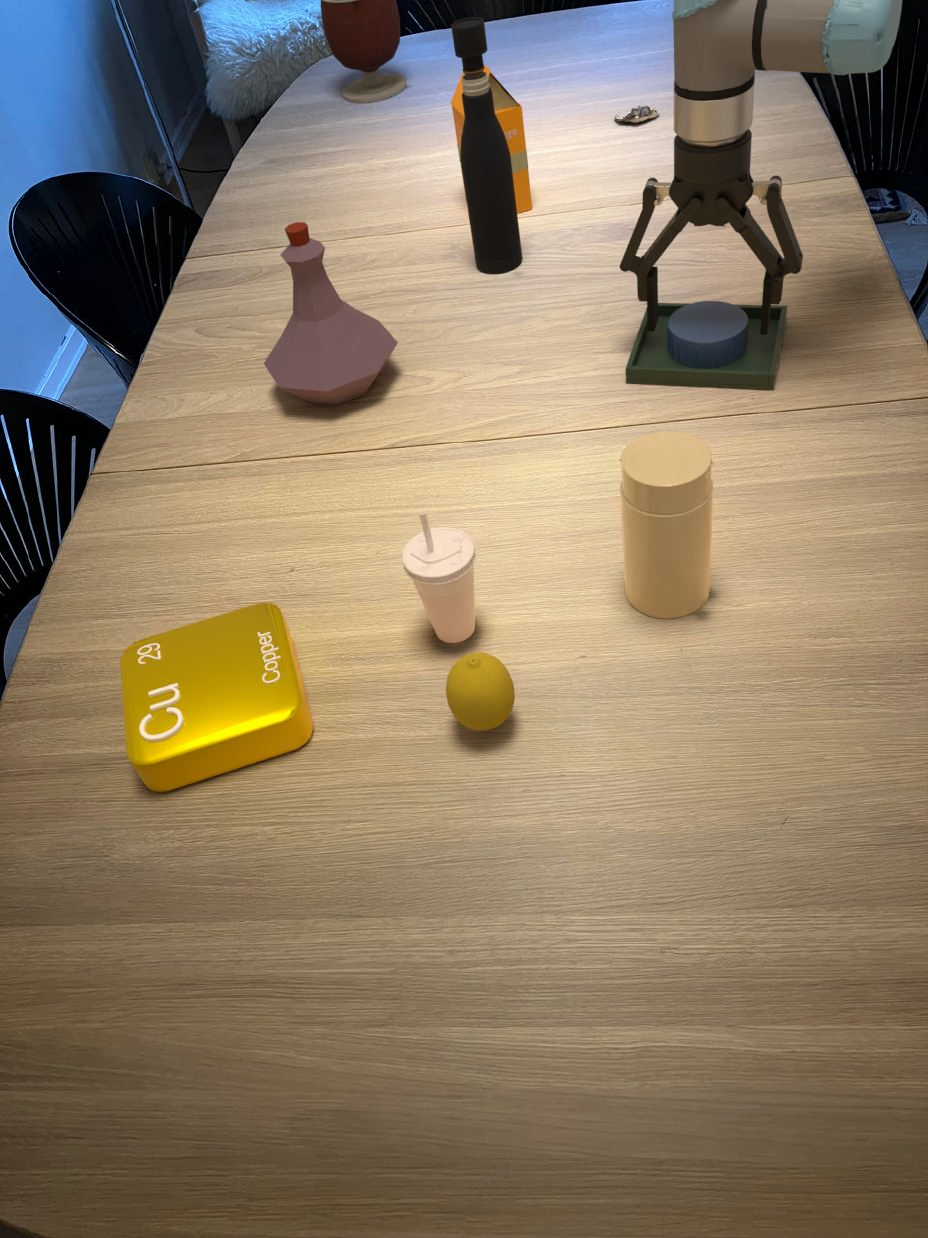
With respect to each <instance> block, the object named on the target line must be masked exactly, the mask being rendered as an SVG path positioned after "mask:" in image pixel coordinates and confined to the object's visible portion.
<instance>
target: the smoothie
mask: <svg viewBox="0 0 928 1238" xmlns="http://www.w3.org/2000/svg"><path fill="white" fill-rule="evenodd" d="M418 514H419V519H420V522H421V523H420V524H421V528H422V531H421V532H419V533H418V534H416V535H414V536H413V537H412V538H411V539H409V540H408V542H407V543H406V544H405V546H404V548H403V550H402V553H401V560H402V564H403V566H402V567H403V571H404V573H405V574H406V575H407V576H408V577H409V578H410V579H411V580H412V582H413V585H414V587H415V589H416V591H417V594H418V596H419V599H420V601H421V603H422V605H423V607H424V610H425V612H426V614H427V617H428V618H429V621H430V623H431V625H432V627H433V630H434V632H435V634H436V637H437V638H438V639H439V640H440V641H442V642H443V643H444V642H445V643H449V644H456V643H462V642H464V641H465V640H468V639H469V638H470V637H471V636H472V635H473V634H474V632H475V629H476V616H475V615H476V614H475V613H476V609H475V607H476V606H475V578H474V577H475V575H474V574H475V573H474V570H475V569H474V565H475V564H476V561H477V558H478V557H477V556H478V555H477V554H478V553H477V548H476V547H475V542H474V540H473V538H472V537H471V536H470V535H469V534H468V533H467V532H466V531H463V530H461V529H459V528H455V527H450V526H449V527H448V526H441V527H440V526H438V527H433V528H430V524H429V519H428V516H427V512H426V511H425V510H420V511H419V512H418Z"/></svg>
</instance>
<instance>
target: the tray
mask: <svg viewBox="0 0 928 1238" xmlns="http://www.w3.org/2000/svg"><path fill="white" fill-rule="evenodd" d="M689 304H691V303H690V302H689V303H687V302H684V303H683V302H658V321H657V324H656V327H655V330H654V331H648V327H647V307H646V308H645V311H644V315H643V317H642V320H641V323H640V325H639V328H638V332H637V334H636V337H635V340H634V343H633V346H632V349H631V350H630V355H629V357H628V360H627V363H626V365H625V383H626V384H632V385H633V384H635V385H636V384H637V385H656V386H657V385H658V386H676V387H677V386H678V387H697V388H717V389H718V388H720V389H721V388H722V389H723V388H724V389H740V390H741V389H742V390H760V391H761V390H762V391H763V390H764V391H774V390H775V383H776V380H777V379H776V378H777V372H778V366H779V361H780V356H781V352H782V351H781V350H782V345H783V340H784V336H785V335H784V334H785V329H786V323H787V315H788V305H779V304H771V311H770V323H769V328H768V333H767V335H760V328H761V313H762V304H733V303H732V304H733V305H736V306H738V307H739V308H741V309H742V310H743V311H744V312H745V313H746V315H747V317H748V342H747V346H746V351H745V352H744V354H743V355H742V356H741V357H740V358H739V359H738V360H736V361H735V362H733V363H731V364H728V365H725V366H722V367H717V368H709V369H700V368H692V367H687V366H684V365H682V364H679V363H678V362H676V361H675V360H673V359H672V357H671V356H670V354H669V353H668V347H667V328H668V320H669V318H670V316H671V315H672V314H673V313H674V312H675V311H676V310H678V309H680V308H681V307H684V306H686V305H689Z"/></svg>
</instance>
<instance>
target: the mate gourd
mask: <svg viewBox="0 0 928 1238" xmlns="http://www.w3.org/2000/svg"><path fill="white" fill-rule="evenodd" d="M320 15H321V16H320V17H321V23H322V26H323V32H324V35H325V38H326V41H327V43H328V47H329V49H330V51H331V53H332V55H333V57H334V58H335V59H336V60H337V61H338V62H339V63H340V64H341V65H342V66H343V67H344V68H346V69H349V70H354V71H359V72H363V77H362V78H358V79H357V80H354V81H353V82H351V83H349V84H347V85H346V86H345V87H344V88H343V90H342V97H343V99H344V100H345V101H347V102H350V103H353V104H367V103H368V104H369V103H376V102H380V101H384V100H387V99H390V98H392V97H394V95H395V96H396V94H397V95H399V94H400V93H401V91H402V90H403V89H404V90H405V89H406V87H407V84H408V83H407V79H406V77H404V76H402V75H401V74H397V73H396V74H395V73H381V72H380V71H379V69H380V68H381V67H383V66H384V65H386V64H387V63H388V62H390V61H392V59H394V57H395V55H396V53H397V51H398V49H399V46H400V43H401V19H400V14H399V8H398V4H397V0H320ZM404 90H403V91H404ZM403 91H402V92H403ZM391 96H392V97H391ZM389 97H390V98H389ZM386 98H387V99H386Z"/></svg>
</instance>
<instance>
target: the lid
mask: <svg viewBox="0 0 928 1238" xmlns="http://www.w3.org/2000/svg"><path fill="white" fill-rule="evenodd" d="M736 305H737V304H734V305H733V303H731V302H725V301H719V300H704V301H703V300H702V301H696V302H692V303H690V304H689V305H686V306H684V307H681V308H680V309H678V310H676V311H675V312H674V313H673V314H672V315H671V316H670V318H669V320H668V328H667V347H668V353H669V354H670V356H671V357H672V359H673V360H675V361H676V362H678V363H679V364H682V365H684V366H687V367H692V368H700V369H709V368H717V367H722V366H725V365H728V364H731V363H733V362H735V361H736V360H738V359H739V358H740V357H741V356H742V355H743V354H744V352H745V351H746V346H747V342H748V317H747V315H746V313H745V312H744V311H743V310H742V309H741V308H739V307H738V306H736Z"/></svg>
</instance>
